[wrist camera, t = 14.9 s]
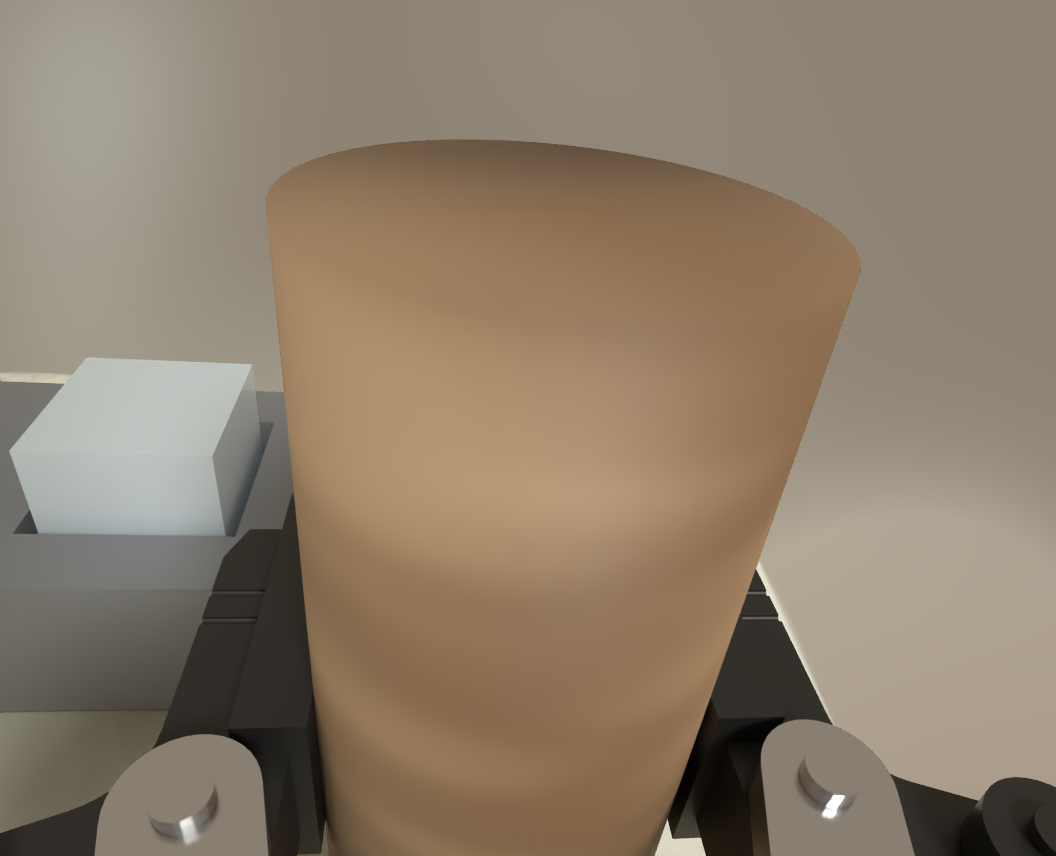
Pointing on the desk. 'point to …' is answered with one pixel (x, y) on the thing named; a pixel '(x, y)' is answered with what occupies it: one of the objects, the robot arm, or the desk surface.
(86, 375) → the grey-blue key
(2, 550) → the key console
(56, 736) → the desk surface
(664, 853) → the desk surface
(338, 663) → the brown wooden cylinder
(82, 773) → the desk surface
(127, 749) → the desk surface
